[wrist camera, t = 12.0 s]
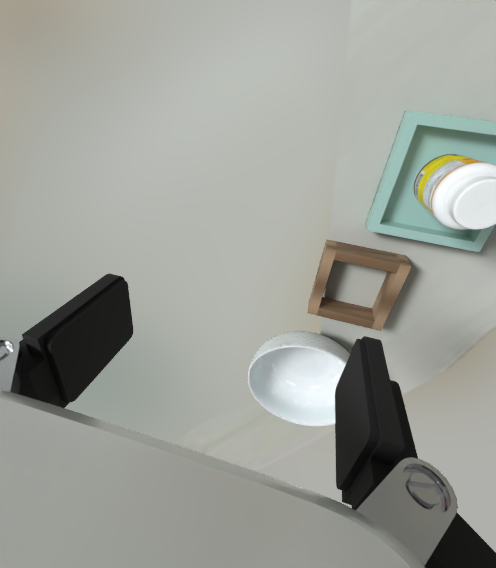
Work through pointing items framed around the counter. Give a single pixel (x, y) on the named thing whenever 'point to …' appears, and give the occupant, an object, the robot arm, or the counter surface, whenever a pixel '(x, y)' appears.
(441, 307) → the counter surface
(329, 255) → the socket block
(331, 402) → the cereal bowl
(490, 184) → the supplement bottle
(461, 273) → the counter surface
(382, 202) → the tray
